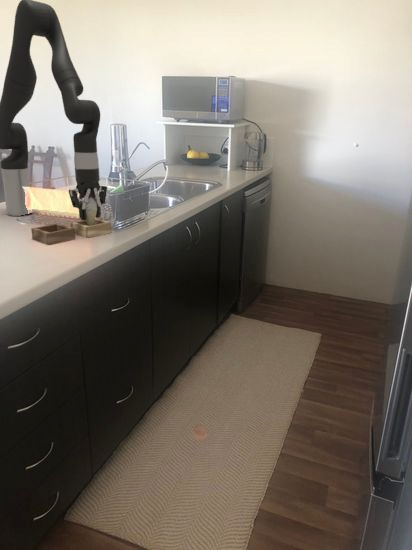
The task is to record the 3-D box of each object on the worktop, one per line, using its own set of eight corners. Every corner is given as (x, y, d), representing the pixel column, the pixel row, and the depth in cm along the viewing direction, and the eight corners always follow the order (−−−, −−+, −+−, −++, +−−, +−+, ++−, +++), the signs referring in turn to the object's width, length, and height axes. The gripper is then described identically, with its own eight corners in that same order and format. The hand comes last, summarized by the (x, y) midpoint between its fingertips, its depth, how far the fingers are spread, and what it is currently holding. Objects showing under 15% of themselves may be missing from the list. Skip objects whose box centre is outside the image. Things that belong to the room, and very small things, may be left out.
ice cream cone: (91, 230, 149) (88, 186, 144) (102, 232, 146) (99, 188, 141) (80, 233, 145) (77, 188, 139) (91, 235, 142) (88, 189, 137)
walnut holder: (32, 239, 136) (31, 228, 135) (58, 233, 143) (57, 223, 142) (49, 244, 131) (48, 233, 130) (75, 238, 138) (74, 228, 137)
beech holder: (71, 232, 145) (70, 222, 144) (94, 227, 152) (93, 218, 150) (88, 237, 139) (87, 227, 138) (111, 232, 146) (110, 222, 145)
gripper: (97, 164, 145) (100, 213, 151) (60, 167, 135) (65, 220, 141) (112, 166, 141) (114, 217, 147) (74, 169, 130) (79, 224, 136)
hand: (90, 218), depth 144 cm, fingers closed on ice cream cone, 5 cm apart
